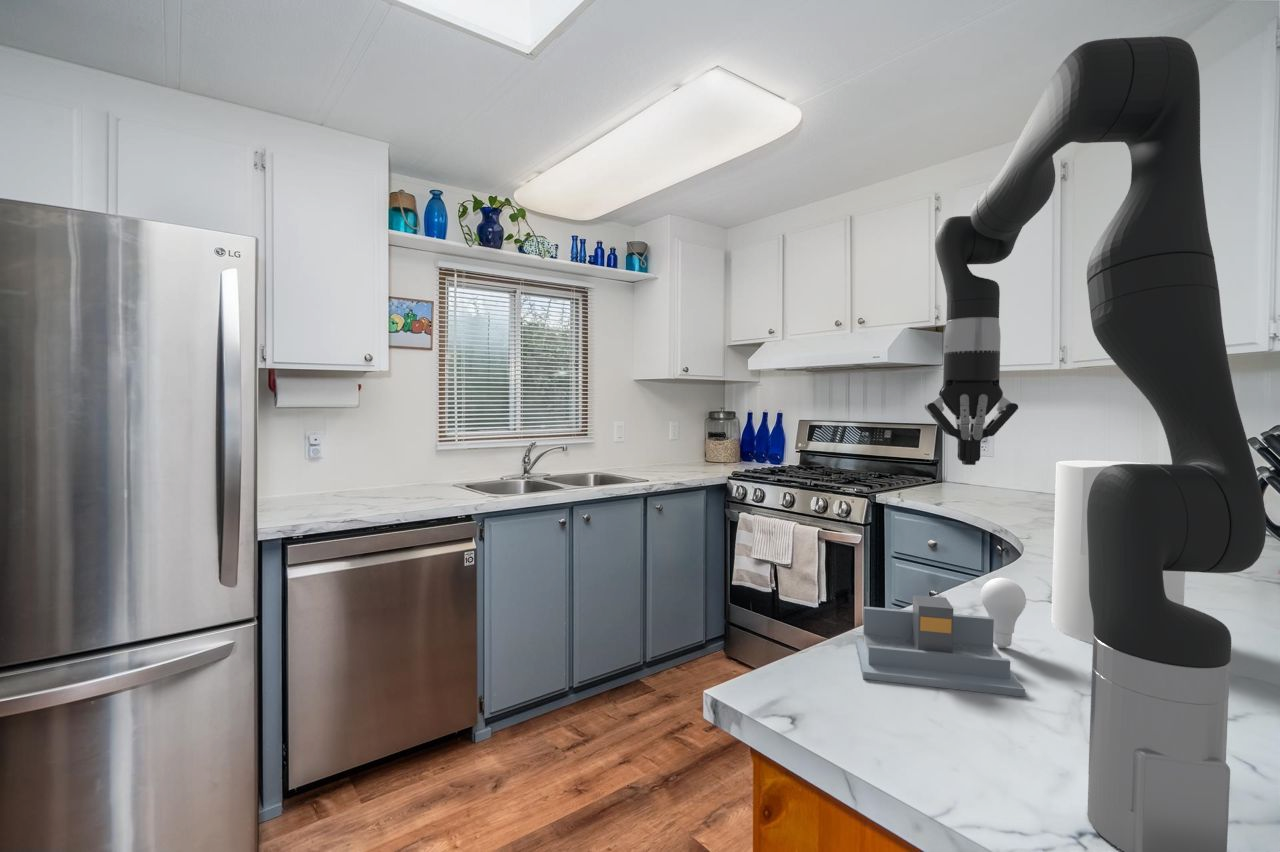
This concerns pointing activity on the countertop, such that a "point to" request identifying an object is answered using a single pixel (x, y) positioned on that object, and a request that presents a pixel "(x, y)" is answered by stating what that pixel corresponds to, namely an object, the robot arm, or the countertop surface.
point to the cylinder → (1082, 550)
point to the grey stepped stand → (935, 656)
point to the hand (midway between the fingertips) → (968, 464)
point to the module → (932, 624)
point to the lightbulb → (1003, 607)
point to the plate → (908, 644)
